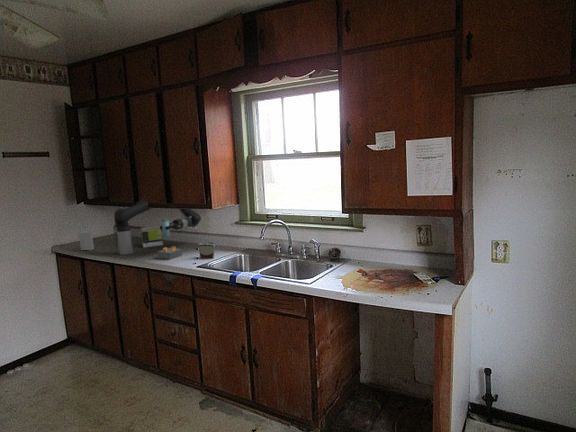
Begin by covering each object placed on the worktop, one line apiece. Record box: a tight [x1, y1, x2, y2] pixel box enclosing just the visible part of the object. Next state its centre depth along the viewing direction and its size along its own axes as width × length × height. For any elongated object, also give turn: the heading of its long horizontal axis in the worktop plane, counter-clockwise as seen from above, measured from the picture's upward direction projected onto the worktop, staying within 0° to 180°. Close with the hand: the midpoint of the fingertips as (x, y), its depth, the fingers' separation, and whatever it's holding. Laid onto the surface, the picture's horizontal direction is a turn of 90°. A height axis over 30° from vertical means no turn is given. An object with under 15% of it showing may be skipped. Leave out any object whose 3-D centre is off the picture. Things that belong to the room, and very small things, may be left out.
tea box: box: [140, 225, 164, 248], centre depth 315 cm, size 15×10×15 cm, turn 115°
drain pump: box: [161, 218, 171, 238], centre depth 277 cm, size 5×5×12 cm
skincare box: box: [77, 230, 95, 251], centre depth 309 cm, size 8×6×15 cm
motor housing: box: [156, 245, 183, 261], centre depth 273 cm, size 11×12×6 cm
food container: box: [197, 241, 216, 260], centre depth 266 cm, size 12×6×10 cm, turn 74°
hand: (163, 228), depth 275 cm, fingers closed on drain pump, 5 cm apart
